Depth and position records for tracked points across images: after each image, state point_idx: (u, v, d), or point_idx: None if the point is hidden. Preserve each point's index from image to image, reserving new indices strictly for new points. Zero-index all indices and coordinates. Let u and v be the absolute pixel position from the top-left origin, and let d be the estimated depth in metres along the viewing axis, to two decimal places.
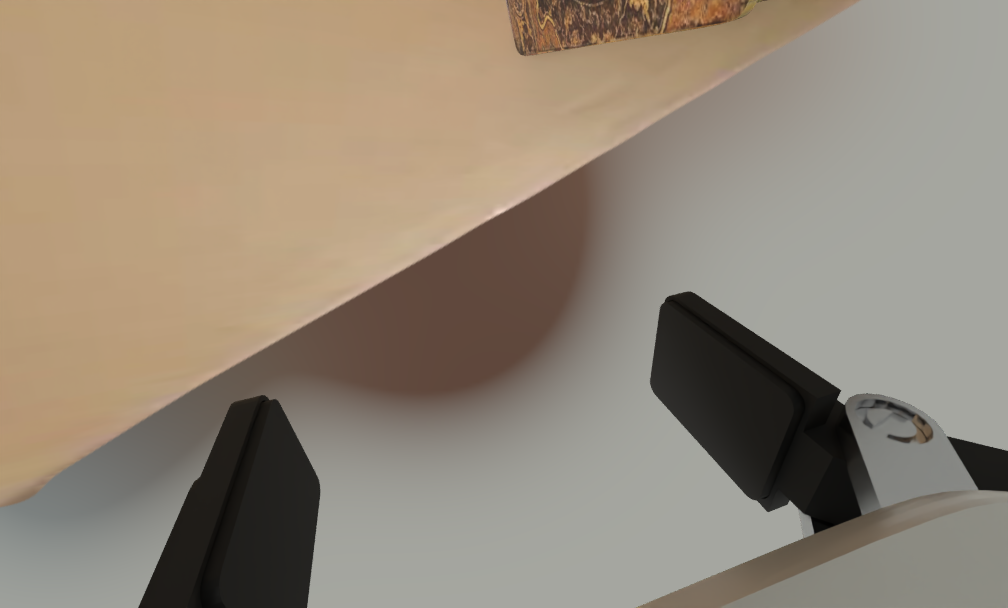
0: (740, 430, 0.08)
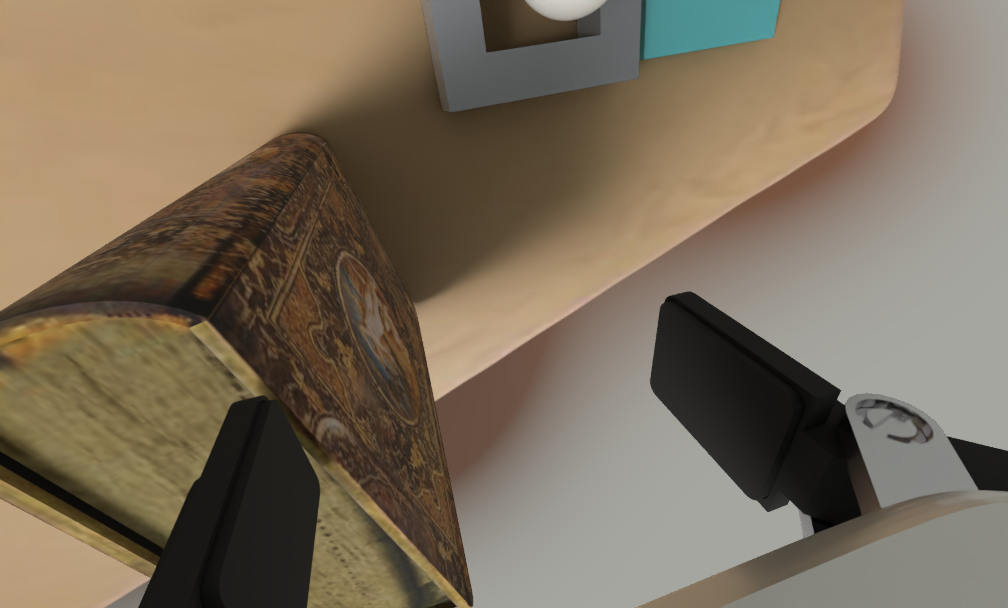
0: (739, 429, 0.08)
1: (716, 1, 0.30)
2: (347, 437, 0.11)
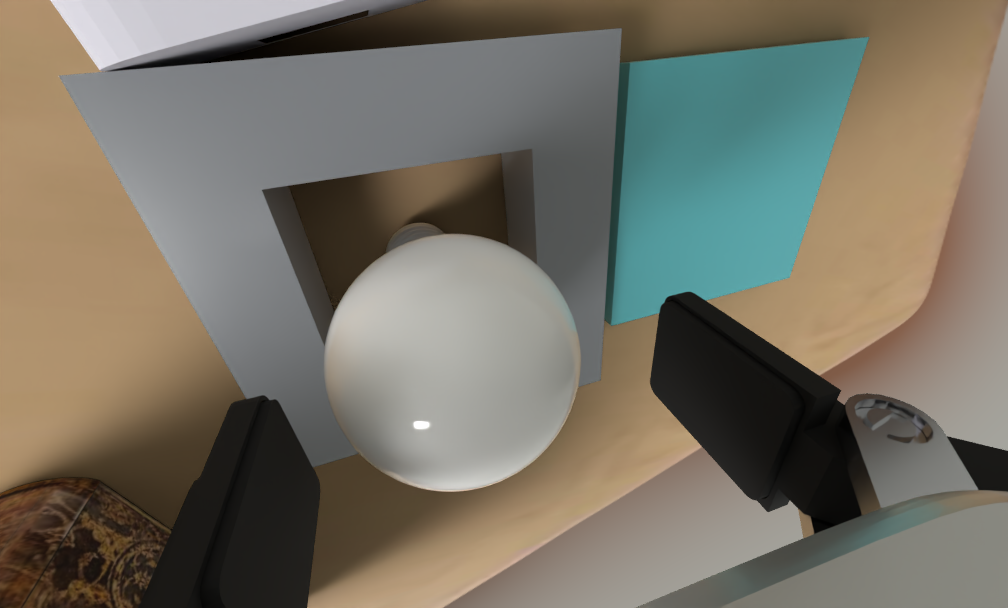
0: (740, 429, 0.08)
1: (716, 251, 0.21)
2: None
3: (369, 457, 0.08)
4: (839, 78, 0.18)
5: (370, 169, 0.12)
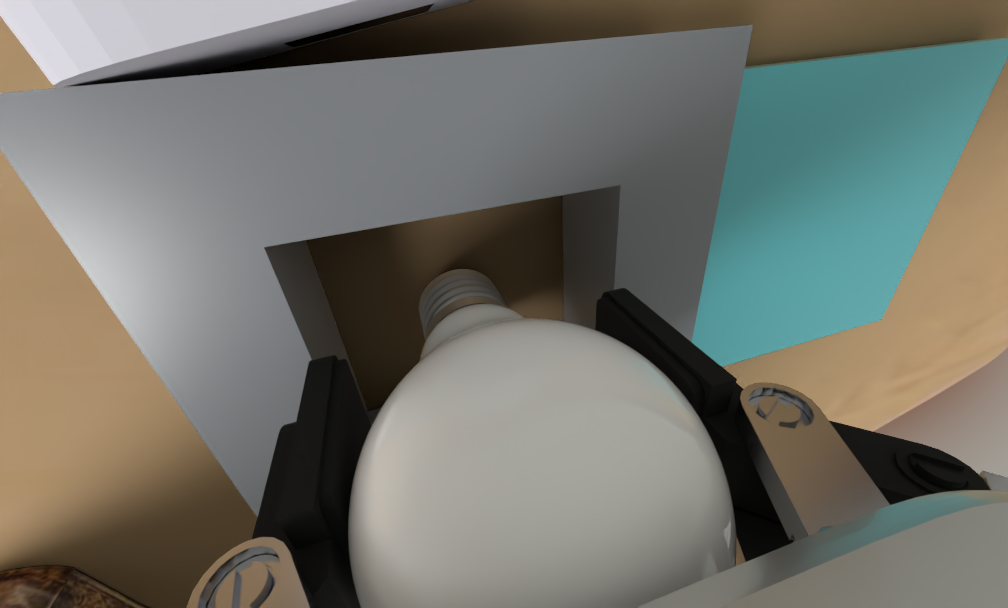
0: None
1: (805, 293, 0.18)
2: None
3: None
4: (975, 88, 0.15)
5: (410, 216, 0.09)
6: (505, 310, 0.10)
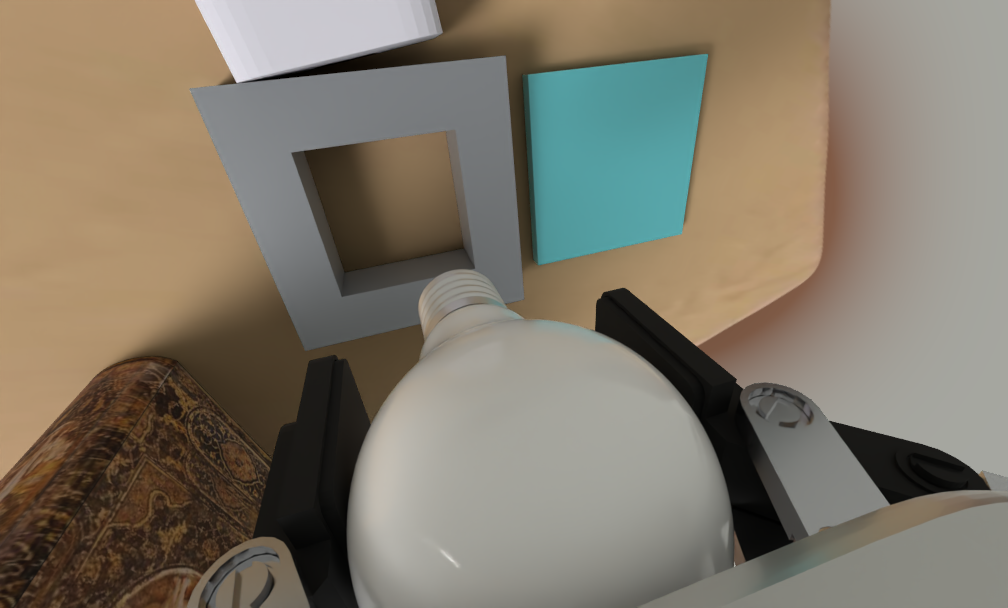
0: None
1: (615, 210, 0.28)
2: None
3: None
4: (691, 82, 0.26)
5: (354, 141, 0.20)
6: (504, 310, 0.10)
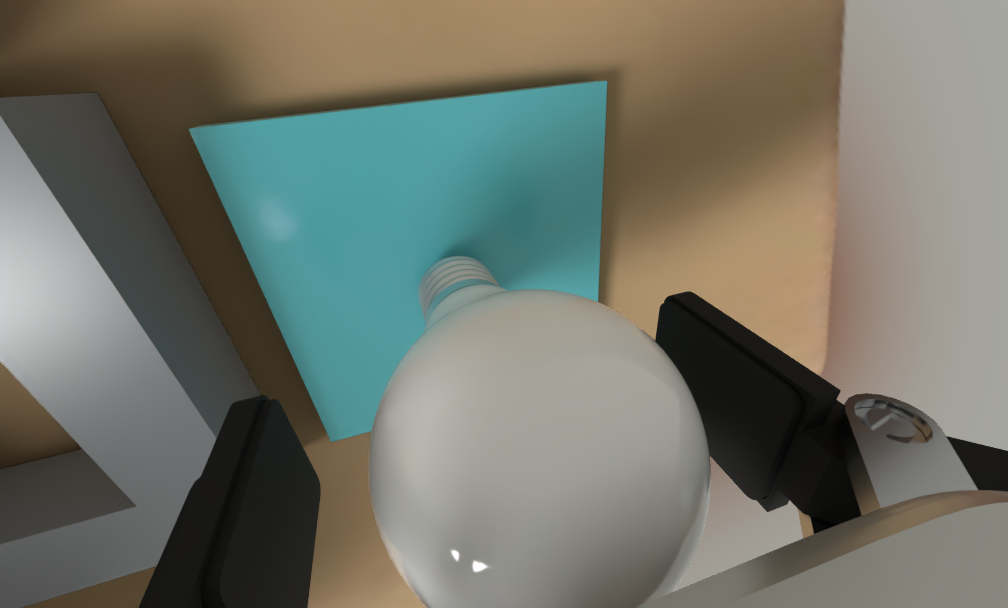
0: (739, 429, 0.08)
1: None
2: None
3: None
4: (578, 134, 0.13)
5: None
6: (501, 289, 0.11)
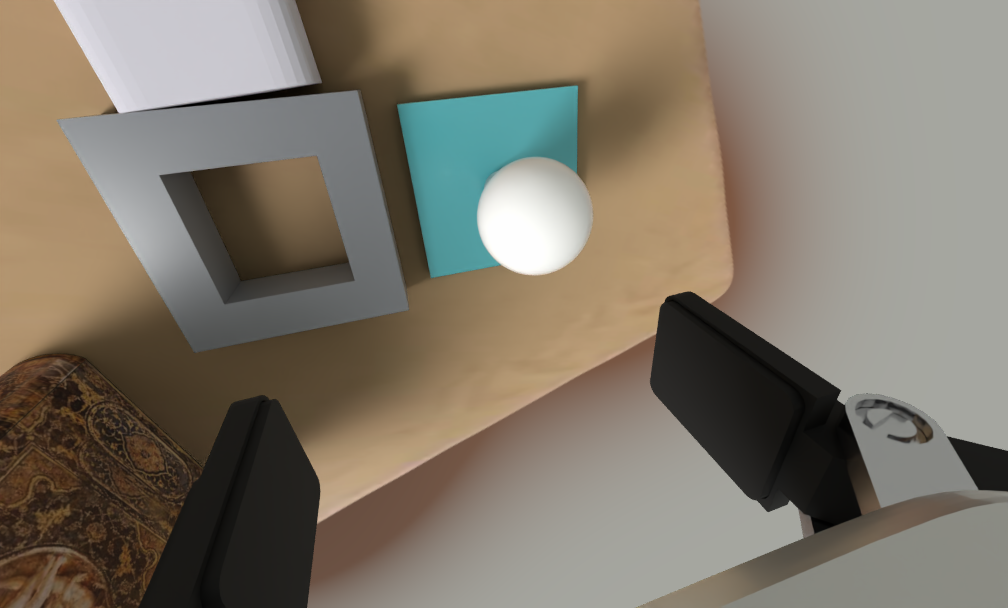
0: (739, 429, 0.08)
1: None
2: None
3: (502, 243, 0.20)
4: (564, 111, 0.27)
5: (219, 165, 0.22)
6: None
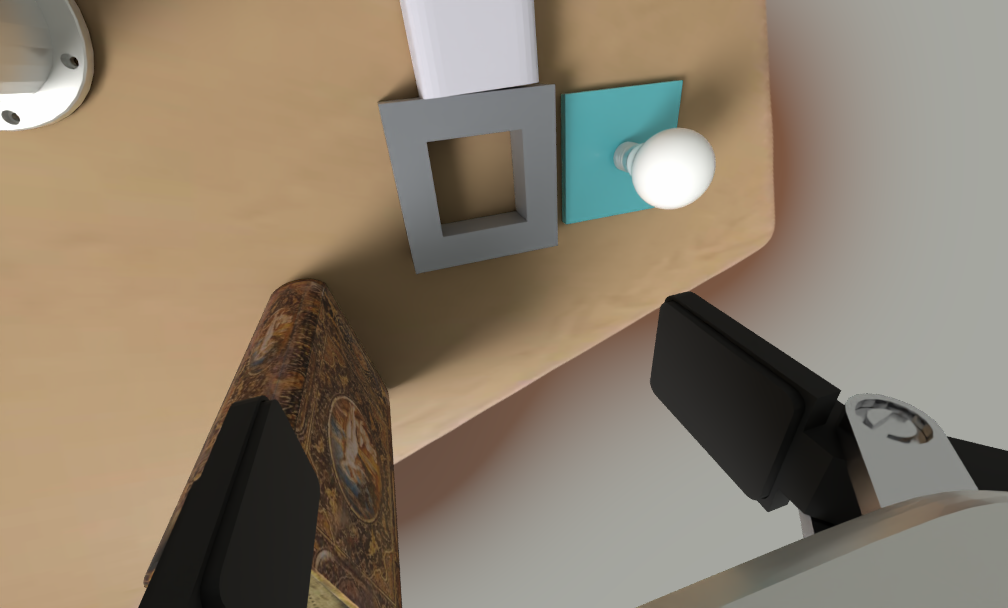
0: (740, 429, 0.08)
1: (619, 186, 0.41)
2: (330, 558, 0.21)
3: (661, 183, 0.31)
4: (671, 99, 0.38)
5: (462, 135, 0.32)
6: None
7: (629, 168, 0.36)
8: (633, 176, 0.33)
